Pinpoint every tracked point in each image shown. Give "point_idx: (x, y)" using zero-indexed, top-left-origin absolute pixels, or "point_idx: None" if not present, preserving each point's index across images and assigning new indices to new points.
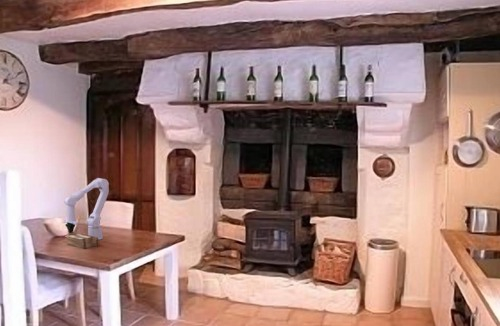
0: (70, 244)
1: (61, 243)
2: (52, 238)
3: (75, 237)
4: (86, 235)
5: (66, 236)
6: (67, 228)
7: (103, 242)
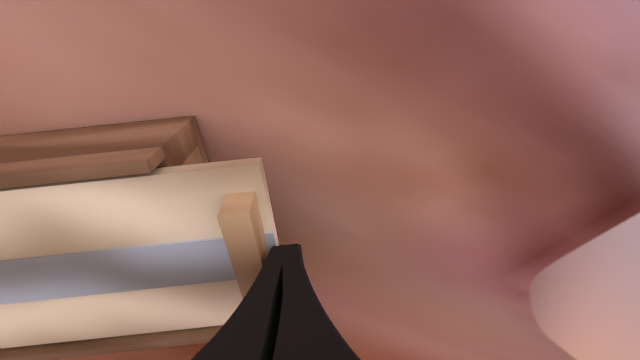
0: (127, 126)
1: (335, 107)
2: (627, 153)
3: (47, 222)
4: (106, 342)
5: (217, 167)
6: (308, 306)
7: (125, 353)
